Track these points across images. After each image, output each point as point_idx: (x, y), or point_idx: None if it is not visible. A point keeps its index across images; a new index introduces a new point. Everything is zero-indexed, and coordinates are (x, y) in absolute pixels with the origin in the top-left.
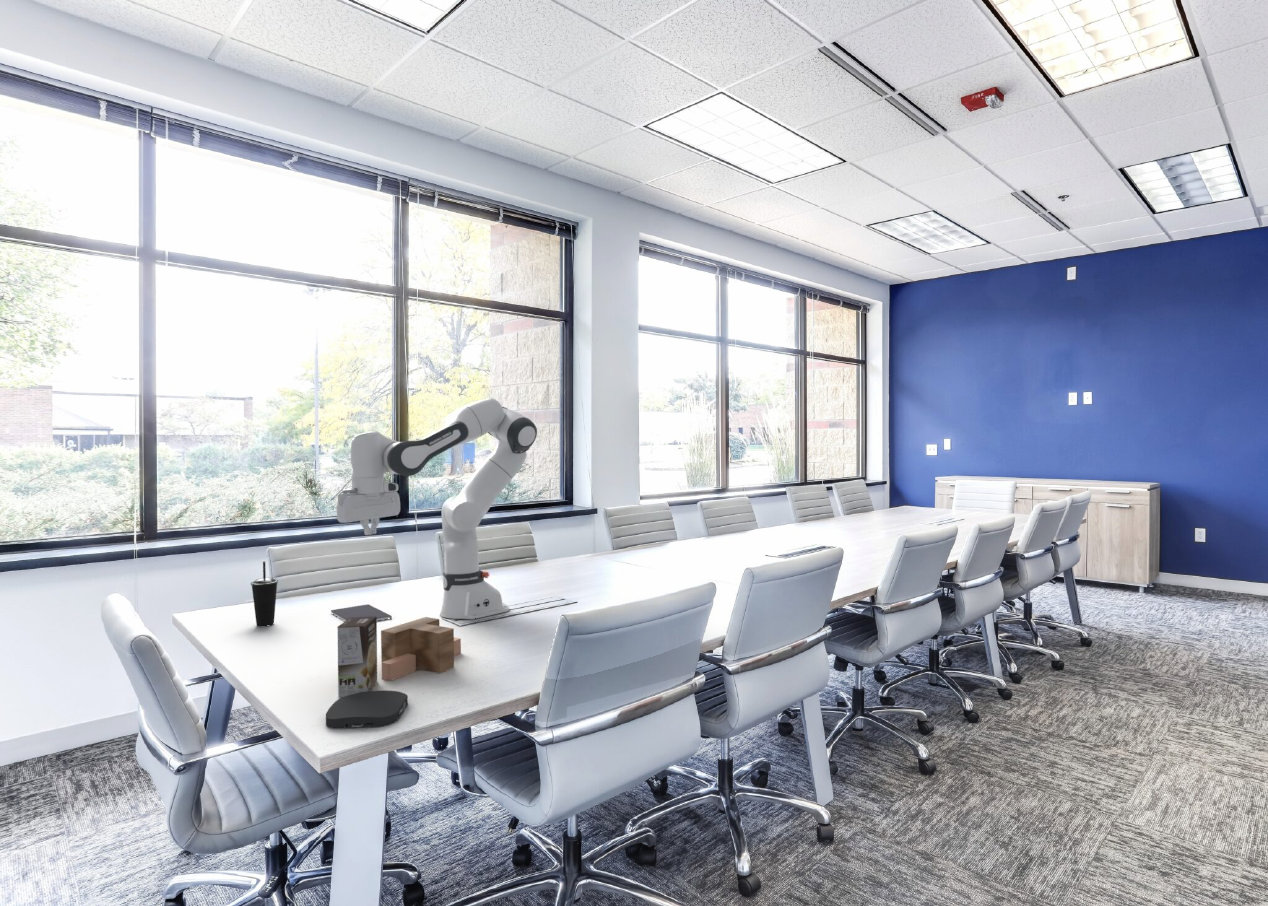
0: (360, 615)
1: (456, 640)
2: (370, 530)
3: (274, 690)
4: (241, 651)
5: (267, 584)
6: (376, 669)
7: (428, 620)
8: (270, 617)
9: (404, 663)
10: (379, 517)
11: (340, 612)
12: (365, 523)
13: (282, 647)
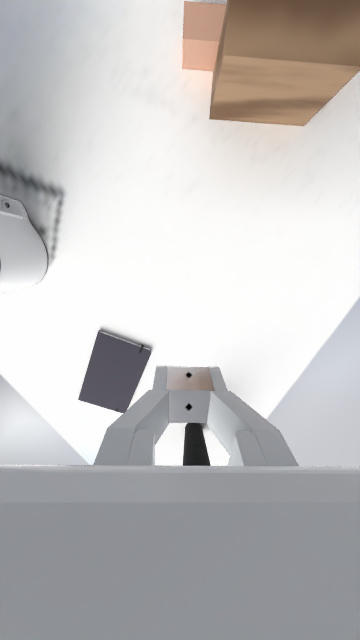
0: (120, 368)
1: (197, 3)
2: (206, 381)
3: None
4: (278, 372)
5: None
6: None
7: (252, 7)
8: (194, 430)
9: None
10: (100, 465)
11: (125, 397)
12: (279, 431)
13: (253, 348)
